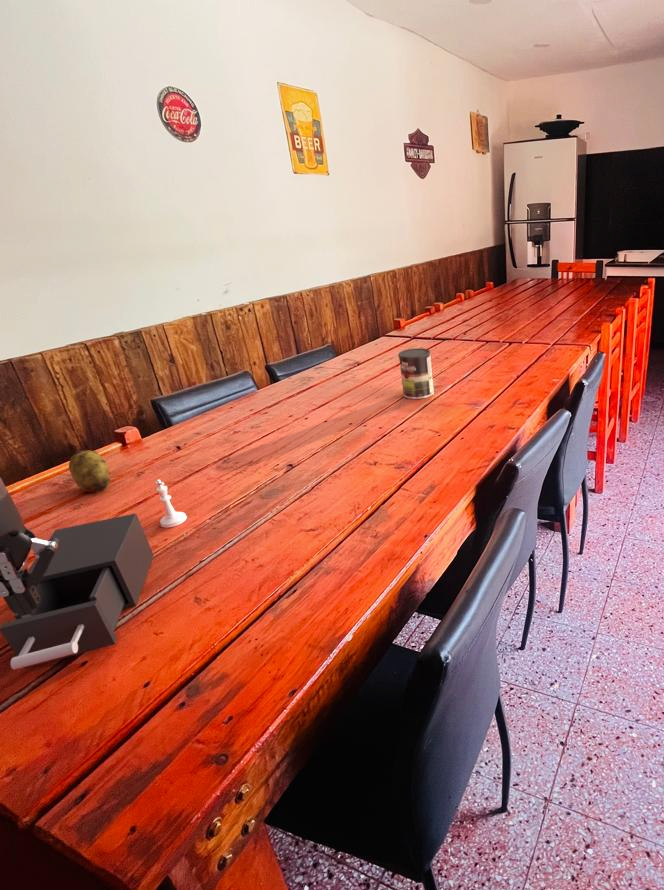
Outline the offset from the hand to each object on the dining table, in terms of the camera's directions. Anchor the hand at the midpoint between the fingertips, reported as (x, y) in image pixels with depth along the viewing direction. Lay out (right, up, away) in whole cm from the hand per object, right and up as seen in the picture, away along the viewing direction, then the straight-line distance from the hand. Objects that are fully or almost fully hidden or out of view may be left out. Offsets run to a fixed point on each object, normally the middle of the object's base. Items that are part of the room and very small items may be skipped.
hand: (29, 610), depth 68 cm
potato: (-33, +12, +56) cm, 66 cm away
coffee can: (+40, +40, +102) cm, 117 cm away
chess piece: (-5, +6, +40) cm, 41 cm away
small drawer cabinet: (-6, -3, +22) cm, 22 cm away
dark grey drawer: (-1, -7, +10) cm, 13 cm away
